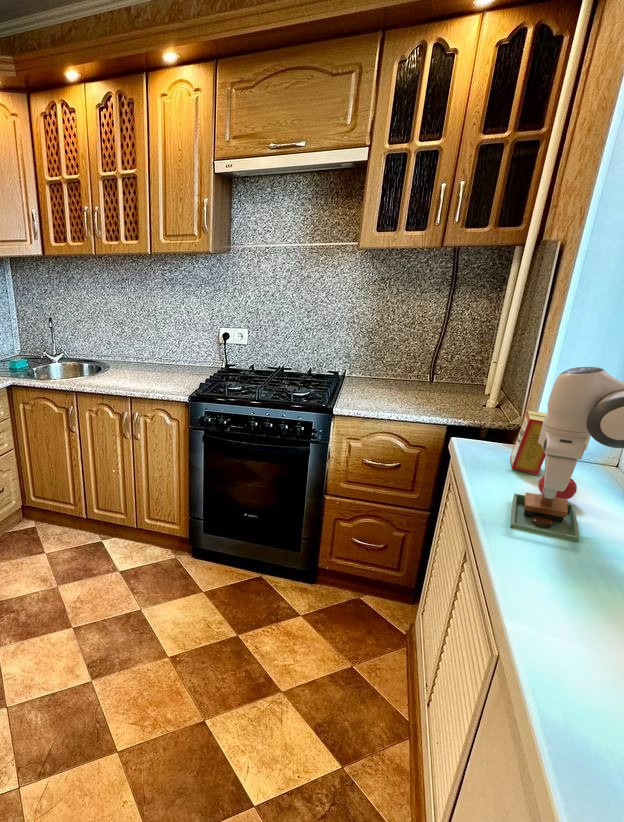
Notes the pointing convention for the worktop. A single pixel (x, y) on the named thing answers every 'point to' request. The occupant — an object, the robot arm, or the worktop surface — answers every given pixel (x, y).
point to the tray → (557, 529)
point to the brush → (545, 506)
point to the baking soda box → (529, 444)
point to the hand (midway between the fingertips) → (548, 493)
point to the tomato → (565, 494)
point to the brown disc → (542, 522)
